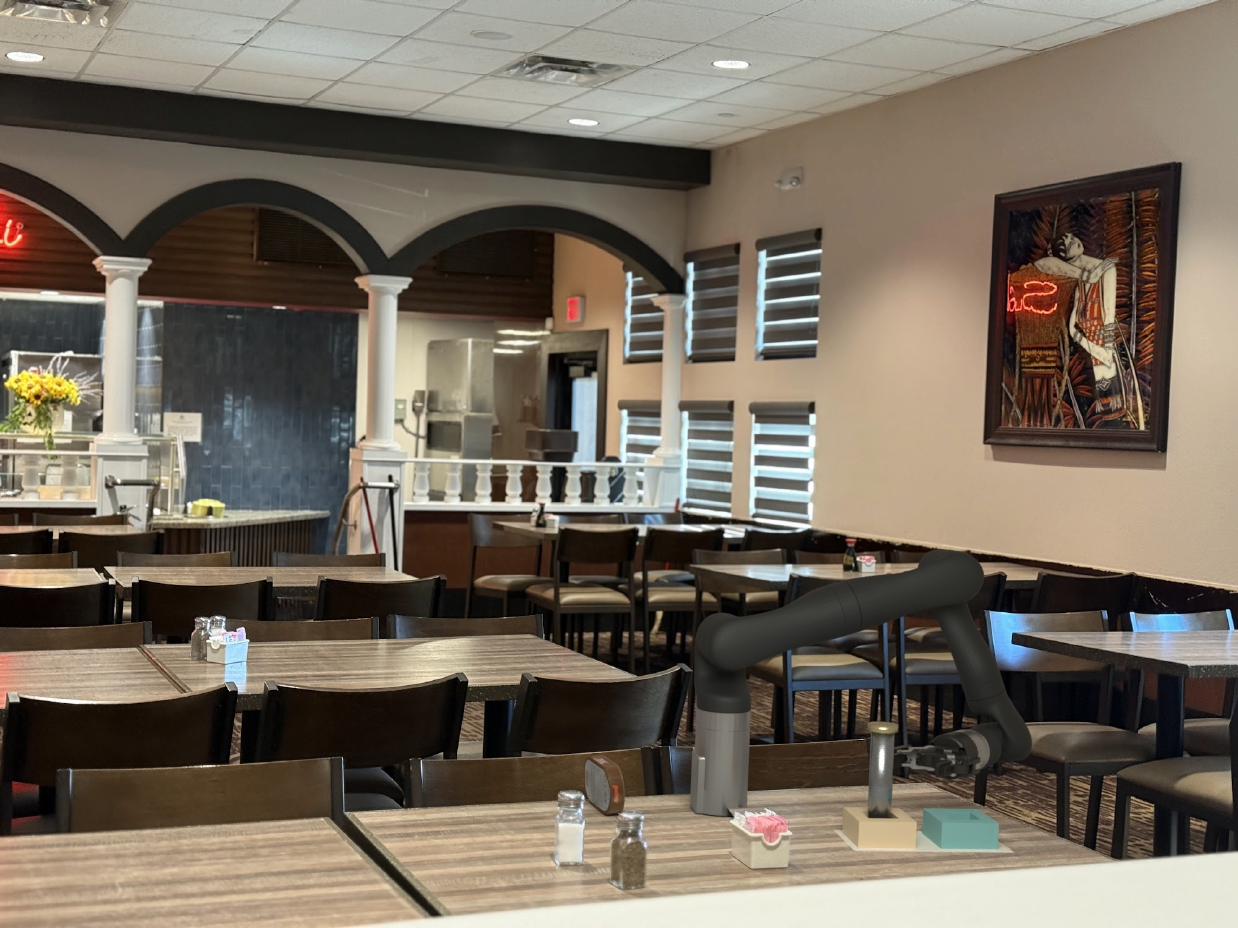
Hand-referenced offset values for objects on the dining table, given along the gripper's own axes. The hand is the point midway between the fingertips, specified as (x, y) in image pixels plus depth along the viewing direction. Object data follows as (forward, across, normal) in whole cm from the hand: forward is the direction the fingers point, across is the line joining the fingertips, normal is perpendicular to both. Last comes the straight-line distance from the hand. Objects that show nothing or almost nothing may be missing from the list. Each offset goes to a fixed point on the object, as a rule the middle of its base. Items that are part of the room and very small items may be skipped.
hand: (913, 766), depth 232 cm
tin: (+23, -45, +12) cm, 52 cm away
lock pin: (+10, 0, +10) cm, 14 cm away
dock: (+5, +5, +12) cm, 14 cm away
